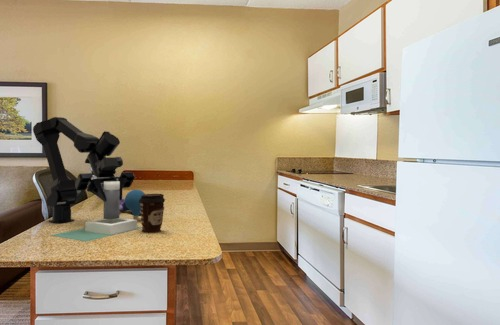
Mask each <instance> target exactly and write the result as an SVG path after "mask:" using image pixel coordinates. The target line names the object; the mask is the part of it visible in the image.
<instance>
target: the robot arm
mask: <svg viewBox="0 0 500 325" xmlns="http://www.w3.org/2000/svg"><path fill="white" fill-rule="evenodd" d="M32 131H33V132H32V133H33V134H34V136H35V139H36V141H37V142H38V143H39V144H40V145H41V146H42V147H43V149H44V153H45V156H46V159H47V164H48V166H49V170H50V174H51V177H52V184H51V187H50V192H51V193H50V195H48V197H47V199H46V205H47V207H51V208H52V213H51V217H52V219H49V220H48V222H49V223H56V224H62V223H67V222H74V221H75V219H74V218H72V208H71V207H72V206H71V205H76V202H77V198H78V191H87V192H88V193H89V192H90V193H92V194H93V195H95V196H96V197H98V198H99V199H100V200H101V201H102V202H103V203H104V202H106V196H105V194H104V188H103V187H102V185H104V181H120V200H122V197H123V189H126V188H130V187H132V184H133V182H134V180H135V179H136V175H135V174H134V171H125V172H124V171H121V173H120V175H119V176H115V174H116V172H117V168H121V167H122V166H123V165H124V161H123V158H122V156H115V157H110V156H111V155H113V153H114V152H115V150H116V149H117V148H118V146H119V145H120V143H121V142H120V139H119V138H118V137H117V136H116V135H114V134H112V133H111V132H110V131H105V130H103V132H102V134H101V135H100V137H97V136H95V135H92V134H89V133H86V132H84V131H82V130H81V129H79V128H78V127H76V126H75V125H74V124H72V123H71V122H70V121H69V120H68V119H67V118H65V117H61V116H60V117H58V116H53V117H51V118H49V119H45V120H43V121H39V122H36V123H35V124H34V126H33V127H32ZM60 134H63V135H64V136H65V137H66V138H68V139H69V140H71V142H73V147H74V148H75V150H77V151H78V152H79V153H81V154H85V153H86V154H87V156H86V159H85V161H84V163H85V164H87V165H88V164H89V165H90V168H91V172H89V173H88V172H87V173H79V174H78V175H77V177H76V180H75V179H70V178H69V177H68V175H67V171H66V167H65V164H64V161H63V158H62V155H61V151H60V148H59V145H58V142H59V138H60V137H61V136H60Z"/></svg>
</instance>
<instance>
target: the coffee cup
mask: <svg viewBox="0 0 500 325" xmlns="http://www.w3.org/2000/svg"><path fill="white" fill-rule="evenodd" d="M165 201H166V199H165V198H164V194H162V193H145V194H144V195H142V196H141V199H139V203H140V206H141V214H140V218H141V219H140V221H141V225H142V226H141V227H142V228H141V232H142V233H147V234H151V233H152V234H153V233H154V234H155V233H160V232H161V231H162V230H161V228H162V224H163V220H164V219H163V218H164V211H165V206H164V205H165V204H164V203H165Z"/></svg>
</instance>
